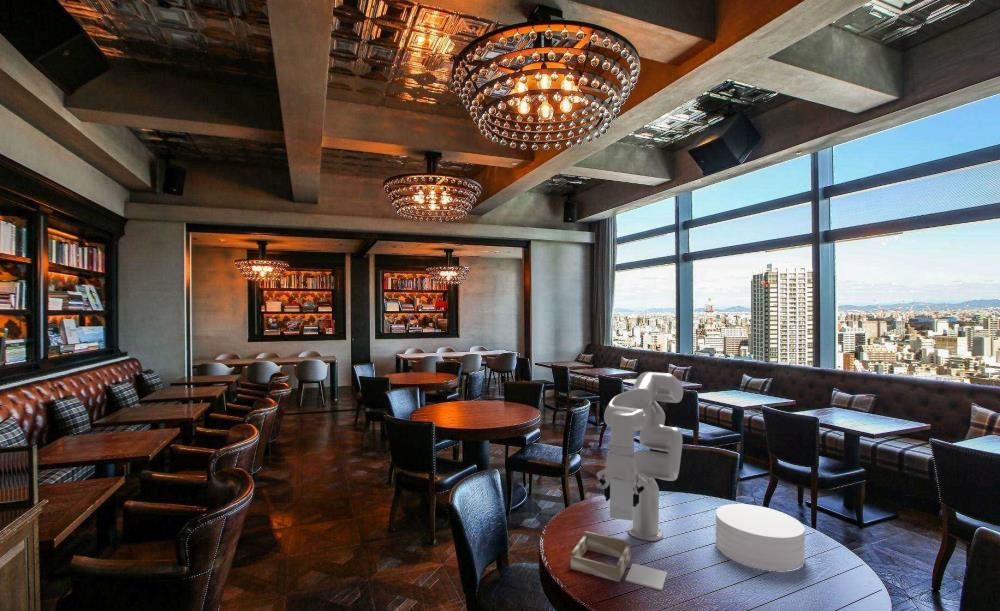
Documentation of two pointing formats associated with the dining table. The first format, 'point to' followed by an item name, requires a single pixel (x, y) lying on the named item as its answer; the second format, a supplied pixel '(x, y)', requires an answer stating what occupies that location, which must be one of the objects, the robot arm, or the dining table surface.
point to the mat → (646, 576)
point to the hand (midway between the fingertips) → (621, 502)
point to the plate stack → (760, 537)
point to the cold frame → (606, 547)
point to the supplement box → (621, 499)
